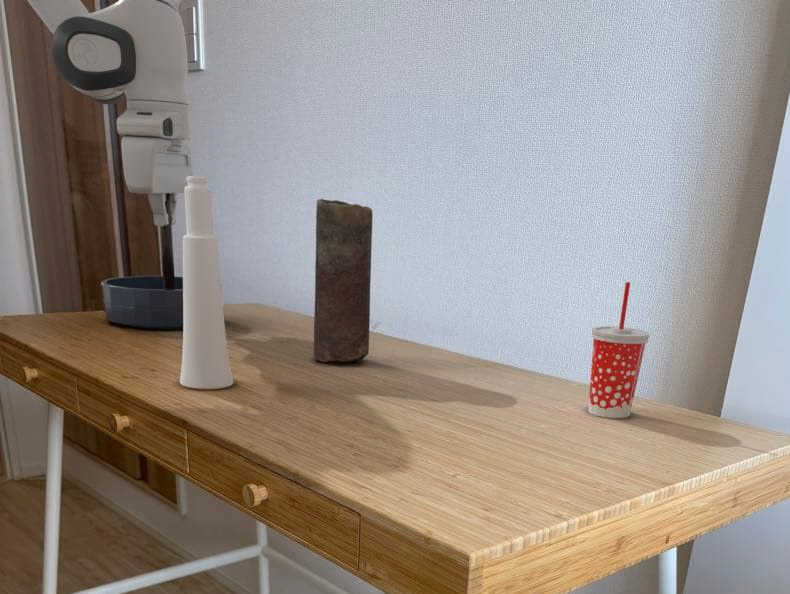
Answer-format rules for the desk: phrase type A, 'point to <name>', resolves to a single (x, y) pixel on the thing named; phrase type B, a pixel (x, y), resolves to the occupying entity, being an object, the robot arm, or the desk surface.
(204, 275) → the cosmetic bottle
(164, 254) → the ladle
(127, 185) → the robot arm
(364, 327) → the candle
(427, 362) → the desk surface
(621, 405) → the beverage cup
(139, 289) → the bowl
